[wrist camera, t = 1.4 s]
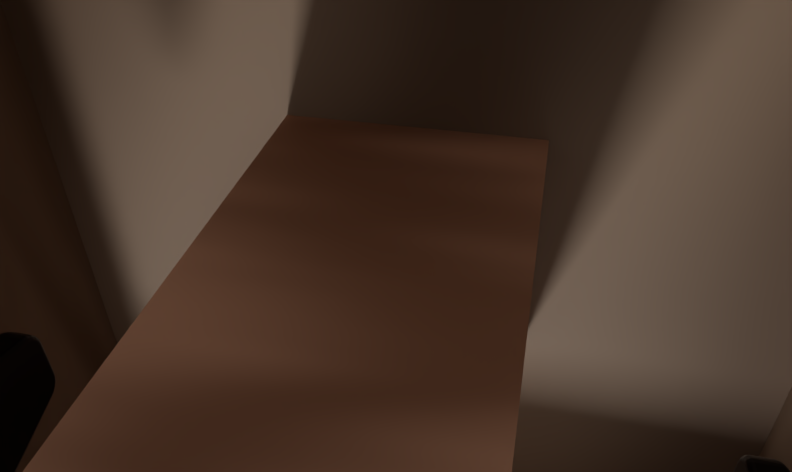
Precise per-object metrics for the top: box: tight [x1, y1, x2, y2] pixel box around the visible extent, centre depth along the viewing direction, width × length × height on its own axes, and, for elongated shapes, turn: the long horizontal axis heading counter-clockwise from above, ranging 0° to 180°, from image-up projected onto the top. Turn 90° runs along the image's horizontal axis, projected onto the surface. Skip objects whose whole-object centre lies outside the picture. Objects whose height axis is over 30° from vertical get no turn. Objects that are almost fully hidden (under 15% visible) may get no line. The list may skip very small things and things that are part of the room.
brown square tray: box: [0, 0, 792, 472], centre depth 11 cm, size 15×15×4 cm
